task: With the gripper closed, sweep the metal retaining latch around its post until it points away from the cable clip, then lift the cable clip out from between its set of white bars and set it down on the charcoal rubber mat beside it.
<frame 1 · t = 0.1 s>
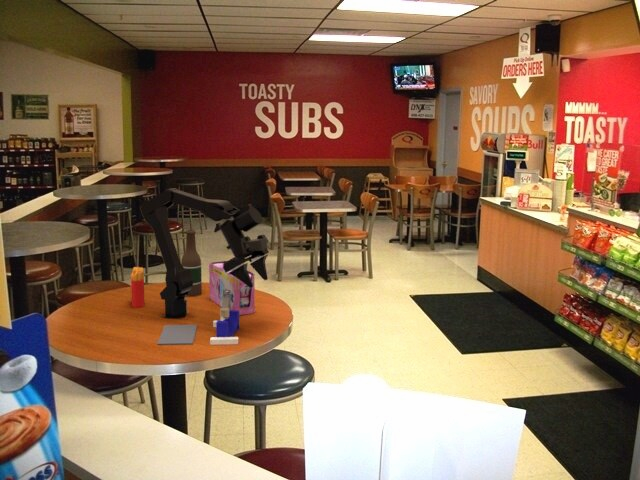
hand: (259, 283, 186), 15 cm above the table, tool tilted 30°, fingers open, 9 cm apart
set of white bars: (225, 334, 184), on the table
gum box: (231, 306, 212), on the table
latch: (225, 311, 187), point 5 cm above the table, hinge at 0.0°
cable clip: (225, 335, 184), on the table
french fries: (138, 305, 210), on the table
beer bottle: (191, 294, 225), on the table
mat: (178, 335, 182), on the table
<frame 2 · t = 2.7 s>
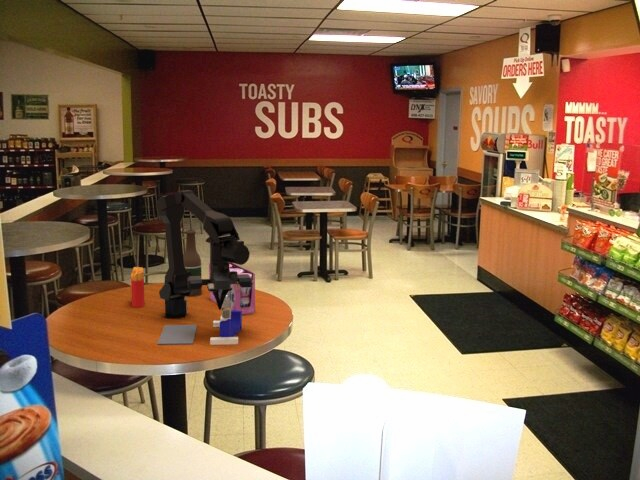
hand: (219, 309, 183), 8 cm above the table, tool pointing down, fingers closed
latch: (226, 311, 188), point 5 cm above the table, hinge at 1.5°, touching gripper
everything else where it was.
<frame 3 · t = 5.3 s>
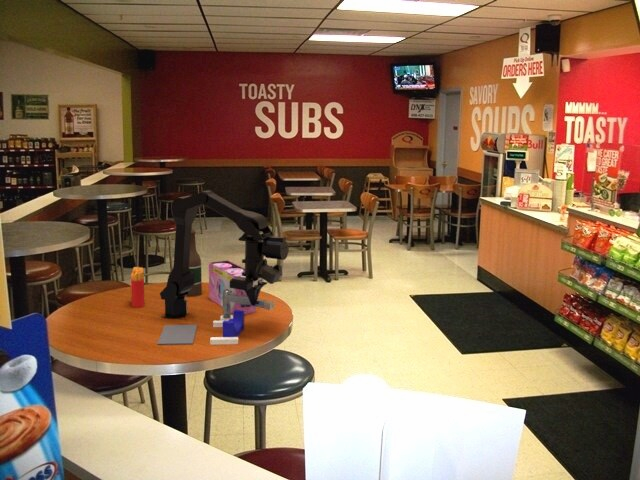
hand: (253, 305, 188), 8 cm above the table, tool pointing down, fingers closed
latch: (247, 308, 192), point 5 cm above the table, hinge at 54.2°, touching gripper
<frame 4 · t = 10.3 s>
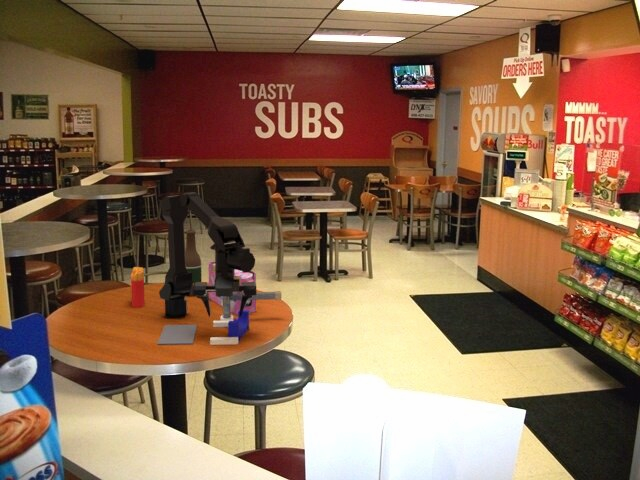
hand: (225, 316, 183), 6 cm above the table, tool pointing down, fingers open, 9 cm apart
latch: (252, 303, 197), point 5 cm above the table, hinge at 92.8°
cable clip: (236, 335, 184), on the table, touching set of white bars, gripper
everything else where it was.
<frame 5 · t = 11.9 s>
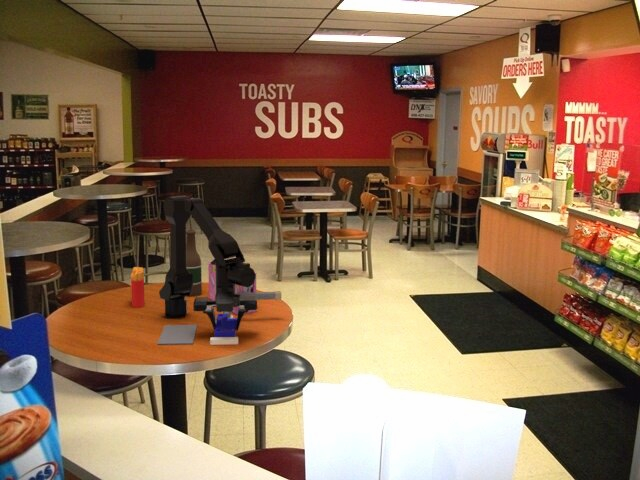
hand: (226, 330, 184), 1 cm above the table, tool pointing down, fingers closed on cable clip, 6 cm apart
cable clip: (215, 327, 183), point 2 cm above the table, touching gripper
everything else where it was.
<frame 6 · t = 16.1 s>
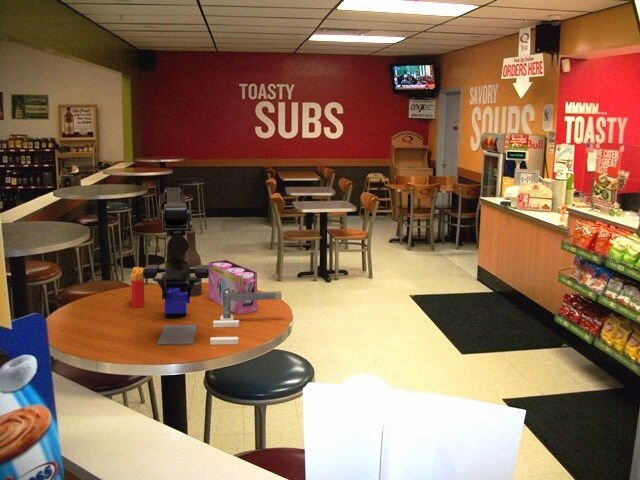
hand: (177, 299, 180), 11 cm above the table, tool pointing down, fingers closed on cable clip, 6 cm apart
cable clip: (166, 300, 180), point 11 cm above the table, touching gripper
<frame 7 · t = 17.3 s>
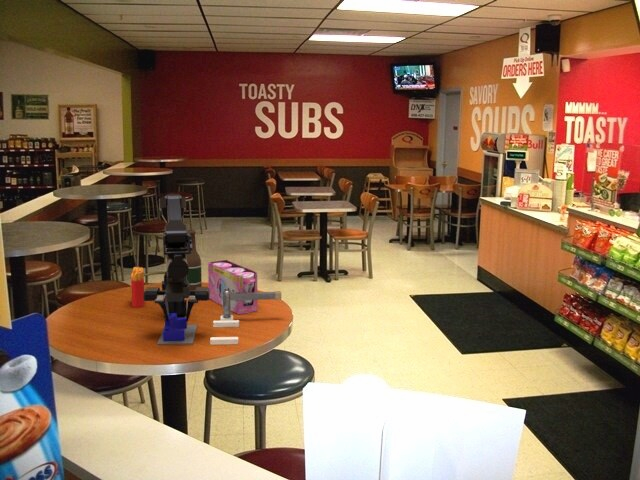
hand: (177, 321, 181), 4 cm above the table, tool pointing down, fingers open, 5 cm apart
cable clip: (164, 327, 181), point 3 cm above the table, touching gripper, mat
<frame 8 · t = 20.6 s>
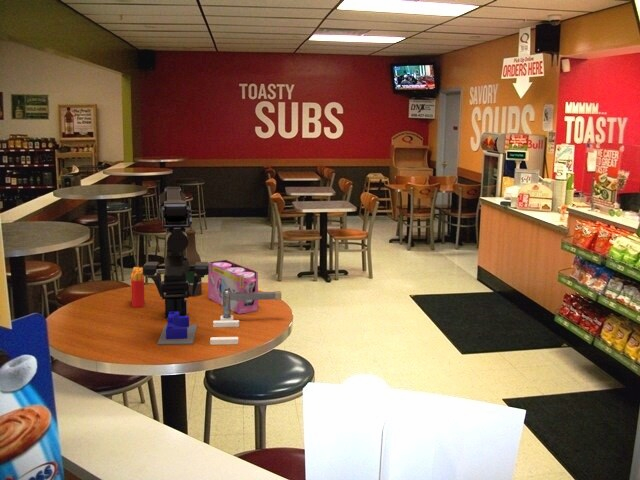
hand: (177, 296, 180), 12 cm above the table, tool pointing down, fingers open, 9 cm apart
cable clip: (167, 325, 183), point 3 cm above the table, touching mat
at the end: latch at +93° (first picture: +0°); cable clip inside the target area (3.7 cm from its centre), point 2.7 cm above the table; the gripper is holding nothing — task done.
